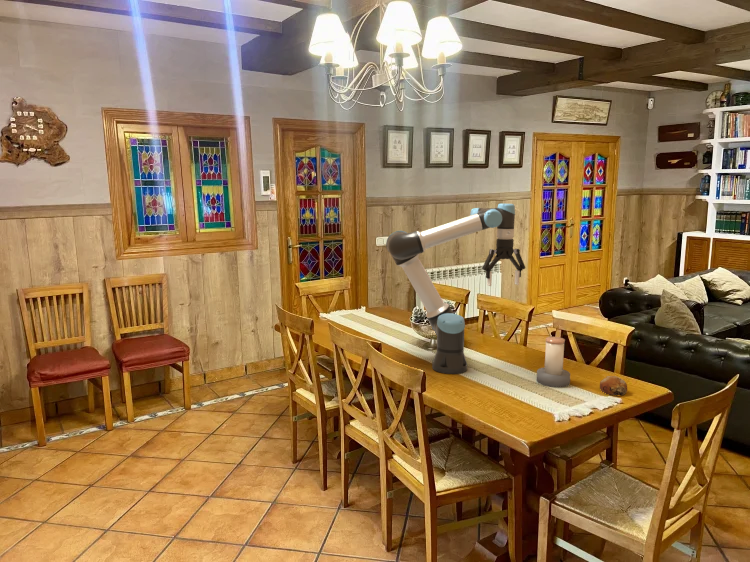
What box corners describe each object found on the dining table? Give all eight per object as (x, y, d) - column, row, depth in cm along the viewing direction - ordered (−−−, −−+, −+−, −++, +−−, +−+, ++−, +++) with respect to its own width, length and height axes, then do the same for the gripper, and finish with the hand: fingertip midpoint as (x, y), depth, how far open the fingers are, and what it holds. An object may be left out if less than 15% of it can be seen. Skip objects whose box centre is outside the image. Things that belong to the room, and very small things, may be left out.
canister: (550, 375, 221) (552, 341, 219) (540, 370, 228) (542, 337, 226) (566, 374, 223) (568, 340, 220) (556, 368, 230) (558, 336, 227)
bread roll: (626, 400, 216) (627, 379, 218) (626, 397, 207) (628, 376, 209) (599, 396, 221) (600, 376, 222) (598, 393, 211) (600, 372, 213)
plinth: (547, 388, 218) (547, 378, 217) (530, 377, 230) (531, 368, 230) (576, 385, 221) (577, 376, 220) (558, 375, 234) (558, 366, 233)
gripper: (482, 239, 241) (481, 287, 244) (534, 238, 246) (532, 285, 250) (475, 238, 248) (474, 284, 251) (526, 237, 254) (523, 282, 257)
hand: (503, 285), depth 251 cm, fingers open, 13 cm apart
